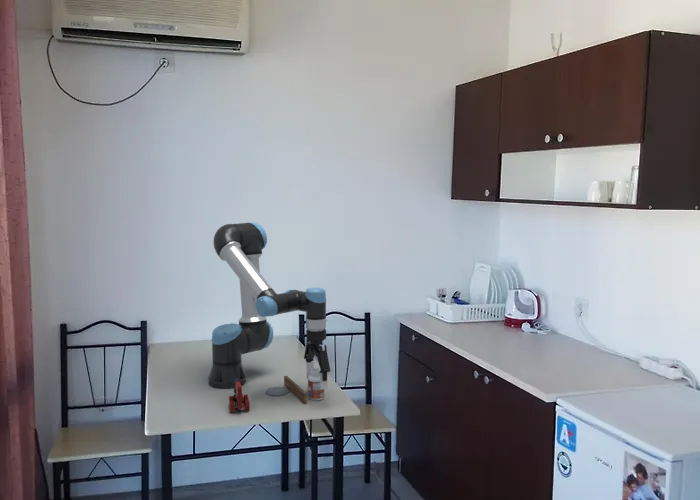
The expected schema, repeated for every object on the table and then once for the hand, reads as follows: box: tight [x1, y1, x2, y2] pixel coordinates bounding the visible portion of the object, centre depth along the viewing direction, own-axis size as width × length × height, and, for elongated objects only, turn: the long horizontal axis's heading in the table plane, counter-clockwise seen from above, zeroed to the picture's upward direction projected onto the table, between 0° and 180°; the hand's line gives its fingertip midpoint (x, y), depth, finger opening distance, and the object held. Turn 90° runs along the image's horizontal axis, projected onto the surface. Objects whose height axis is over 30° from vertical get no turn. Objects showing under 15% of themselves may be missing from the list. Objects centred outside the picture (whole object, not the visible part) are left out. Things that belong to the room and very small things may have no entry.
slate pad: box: [265, 386, 290, 397], centre depth 240 cm, size 9×9×1 cm
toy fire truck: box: [228, 379, 251, 413], centre depth 223 cm, size 7×12×10 cm, turn 14°
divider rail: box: [283, 375, 308, 405], centre depth 238 cm, size 1×22×4 cm, turn 26°
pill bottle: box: [307, 367, 325, 401], centre depth 234 cm, size 6×6×11 cm
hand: (316, 383), depth 234 cm, fingers open, 13 cm apart
